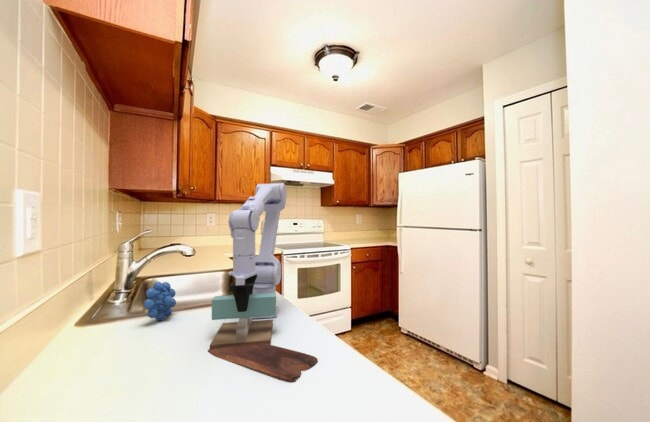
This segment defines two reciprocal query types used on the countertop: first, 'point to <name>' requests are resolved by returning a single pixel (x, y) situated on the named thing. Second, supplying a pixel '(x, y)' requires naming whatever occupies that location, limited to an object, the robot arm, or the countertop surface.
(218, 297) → the teal rectangular bar
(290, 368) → the wooden tablet
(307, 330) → the countertop surface
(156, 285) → the grapes
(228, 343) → the ridge
